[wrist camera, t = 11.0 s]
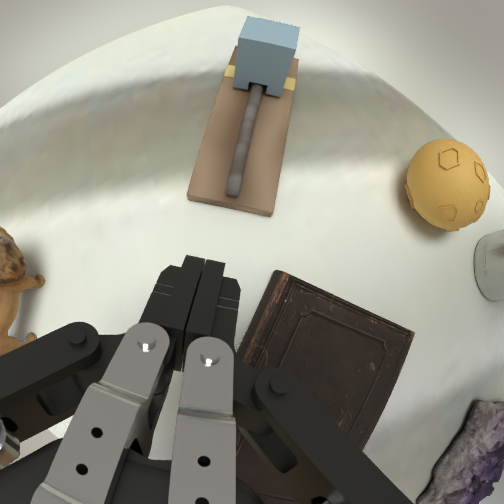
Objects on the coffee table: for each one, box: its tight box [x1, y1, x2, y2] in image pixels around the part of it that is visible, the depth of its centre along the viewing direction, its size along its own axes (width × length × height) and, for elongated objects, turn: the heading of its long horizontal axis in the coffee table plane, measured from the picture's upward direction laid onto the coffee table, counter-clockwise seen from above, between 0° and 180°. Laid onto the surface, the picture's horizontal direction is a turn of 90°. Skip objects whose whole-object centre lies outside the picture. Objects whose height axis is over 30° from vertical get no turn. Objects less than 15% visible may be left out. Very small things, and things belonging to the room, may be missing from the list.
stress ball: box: [404, 139, 490, 231], centre depth 27 cm, size 10×10×10 cm
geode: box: [416, 400, 504, 504], centre depth 22 cm, size 20×12×10 cm, turn 147°
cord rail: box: [187, 46, 299, 217], centre depth 28 cm, size 8×21×5 cm, turn 169°
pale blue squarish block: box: [233, 16, 300, 97], centre depth 26 cm, size 5×4×7 cm
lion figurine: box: [0, 227, 45, 356], centre depth 20 cm, size 15×5×9 cm, turn 176°
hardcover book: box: [236, 270, 415, 504], centre depth 25 cm, size 16×23×2 cm
